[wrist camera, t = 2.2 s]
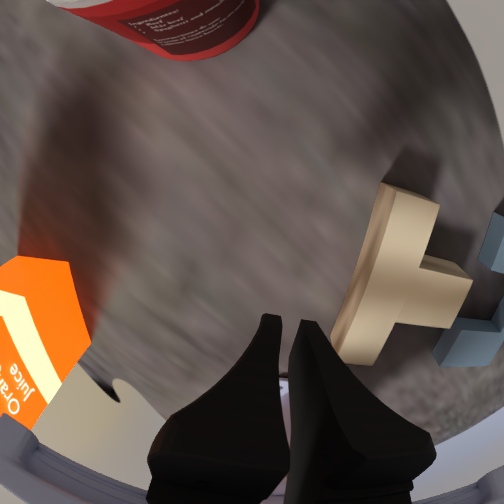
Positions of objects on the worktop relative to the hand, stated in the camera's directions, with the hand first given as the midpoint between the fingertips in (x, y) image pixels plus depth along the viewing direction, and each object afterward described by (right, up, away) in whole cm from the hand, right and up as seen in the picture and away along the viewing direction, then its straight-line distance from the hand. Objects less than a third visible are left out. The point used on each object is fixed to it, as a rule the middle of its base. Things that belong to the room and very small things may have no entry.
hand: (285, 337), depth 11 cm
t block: (+10, +2, +8) cm, 12 cm away
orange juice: (-20, -1, +12) cm, 24 cm away
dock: (+19, 0, +8) cm, 20 cm away
